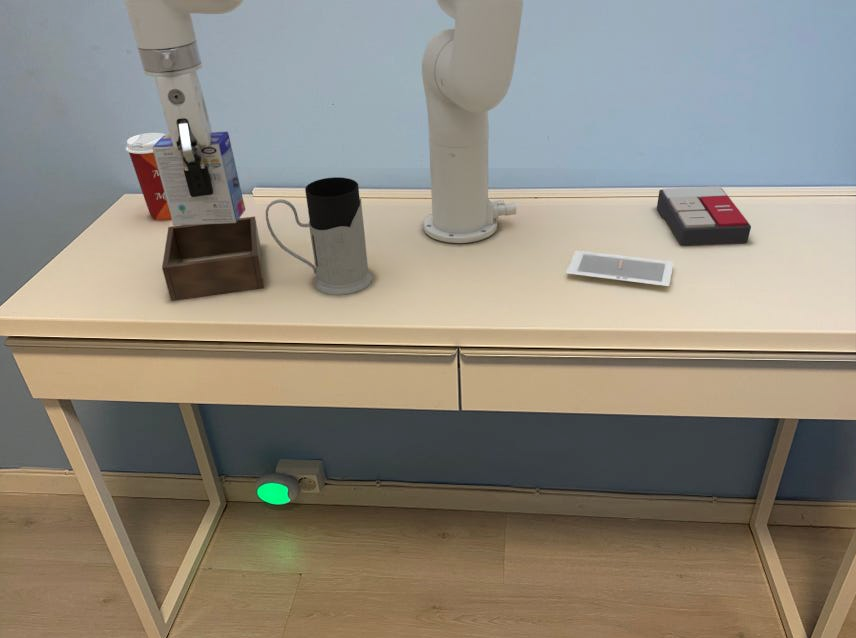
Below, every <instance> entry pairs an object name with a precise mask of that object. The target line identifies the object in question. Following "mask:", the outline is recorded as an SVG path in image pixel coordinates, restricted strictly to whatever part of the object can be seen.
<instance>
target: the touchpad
mask: <svg viewBox="0 0 856 638" xmlns="http://www.w3.org/2000/svg"><path fill="white" fill-rule="evenodd" d="M674 263H675V262H674V261H669V260H662V259H661V260H660V259H653V258H644V257H636V256H628V255H619V254H610V253H603V252H592V251H583V250H575V251H574V253H573V256H572V258H571V260H570V263H569V265H568V267H567V270H566V272H565V274H570V275H577V276H585V277H593V278H601V279H608V280H617V281H624V282H631V283H633V282H634V283H638V284H639V283H641V284H647V285H655V286H663V287H670V283H671V278H672V273H673V267H674Z"/></svg>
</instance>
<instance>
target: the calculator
mask: <svg viewBox="0 0 856 638" xmlns="http://www.w3.org/2000/svg"><path fill="white" fill-rule="evenodd" d="M656 203H657V204H656V210H657V211H658V213H659V215H660V217H661V218H664V219H665V221H666V223H667V225H668V226H669V228H670V230H671V231H672V233H673V235H674V236H675V239H676V240H677V241H678V244H679V246H684V247H685V246H707V245H729V244H730V245H732V244H747V243H748V240H749V237H750V233H751V229H752V225H751V224H750V223H749V221H748V220H747V219H746V217H745V216H744V214H743V213H742V211H740V209H739V208H738V207H737V205H736V204H735V203H734V201H733V200H732V199H731V198H730V196H728V194H727V193H726V191H724V189H723V188H722V187H721V186H693V187H671V188H670V187H669V188H662V189H660V190H659V191H658V197H657V202H656Z"/></svg>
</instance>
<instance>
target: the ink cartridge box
mask: <svg viewBox="0 0 856 638" xmlns="http://www.w3.org/2000/svg"><path fill="white" fill-rule="evenodd" d="M196 145H197V142H192V146H196ZM201 148H202V154H203V159H204V164H205V166H207V167H208V171H209V176H210V180H211V184H212V188H213V194H212V195H206V196H198V197H191V196H190V193H189V189H188V185H187V181H186V178H185V174H184V166H183V161H182V156H181V152H180V150H177V149H175V148H174V146H173V143H172V140H171V137H170V134H169V135H167V134H165V136H163V137H162V138H161V139H160V140H158V142H157V143H156V144H155V145H154V146H153V147H152V149H153V153H154V156H155V160H156V163H157V167H158V171H159V174H160V178H161V182H162V185H163V189H164V192H165V196H166V199H167V203H168V207H169V210H170V214H171V218H172V219H171V222H172V226H173V227H174V226H180V225H198V224H223V223H236V222H237V221H238V220H239V218H242V215H244V213H245V211H246V205H245V201H244V197H243V193H242V192H243V191H242V188H241V183H240V179H239V175H238V174H239V173H238V171H237V166H236V161H235V157H234V152H233V148H232V143H231V138H230V135H229V132H228V131H215V132H213V131H211V144H210V145H209V146H208V147H206V146H205V145H202V146H201ZM194 154H197V156H198V152H197V151H194Z"/></svg>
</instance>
